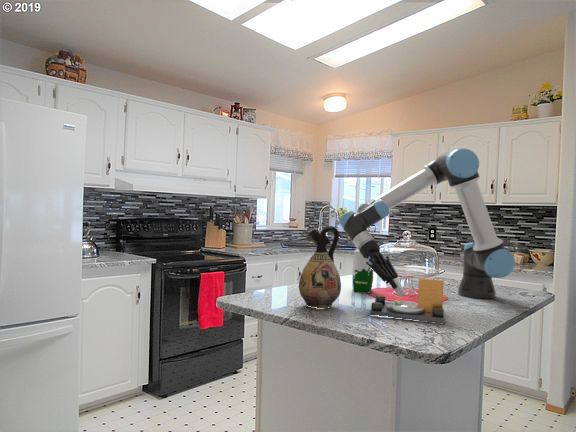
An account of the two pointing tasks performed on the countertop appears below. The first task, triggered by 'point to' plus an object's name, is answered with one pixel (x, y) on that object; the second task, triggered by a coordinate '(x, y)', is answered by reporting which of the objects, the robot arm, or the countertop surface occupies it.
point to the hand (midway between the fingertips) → (402, 294)
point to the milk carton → (361, 273)
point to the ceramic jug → (321, 272)
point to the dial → (421, 298)
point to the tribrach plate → (381, 309)
